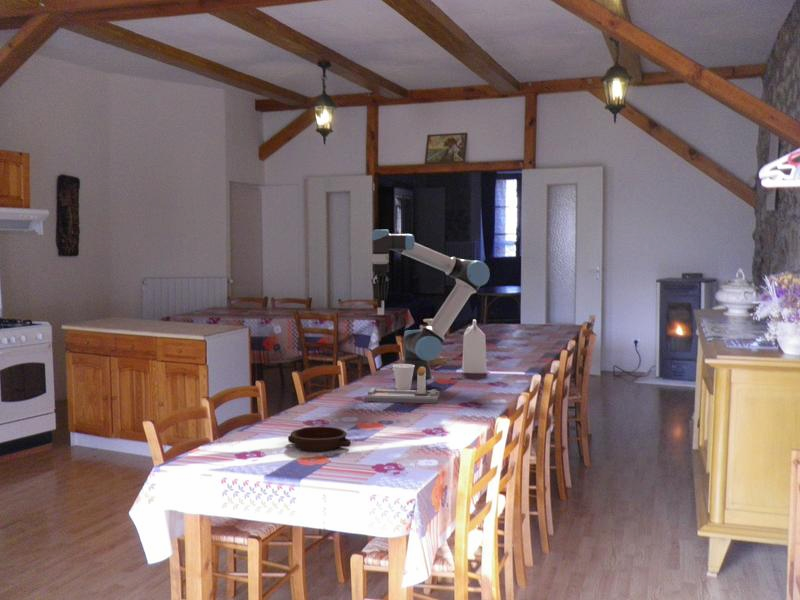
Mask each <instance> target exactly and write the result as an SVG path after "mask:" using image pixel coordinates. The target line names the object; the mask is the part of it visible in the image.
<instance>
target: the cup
mask: <svg viewBox="0 0 800 600" xmlns="http://www.w3.org/2000/svg"><path fill="white" fill-rule="evenodd" d="M414 367H415V365H412V364H403V363H396V364H393V365H392V368H393V375H394V380H395V386H396V390H411V389H412V381H413V379H412V377H413V371H414Z"/></svg>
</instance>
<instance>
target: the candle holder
mask: <svg viewBox="0 0 800 600" xmlns="http://www.w3.org/2000/svg"><path fill="white" fill-rule="evenodd" d="M433 319H434V318H424V319H422V320H423V322H424V323H427V326H429V325H430V323H431V322H432V320H433ZM428 363H429V366H431V367H433V366H435V367H436V366H440V365H441V366H442V365H445V364H447V360H446V359H445V357H443V356H441V355H439V356H438V357H437V358H435V359H433V360H429V361H428Z"/></svg>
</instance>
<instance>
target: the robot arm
mask: <svg viewBox="0 0 800 600" xmlns="http://www.w3.org/2000/svg"><path fill="white" fill-rule="evenodd" d="M371 240H372V242H371V243H372V258H371V259H372V261H371V262H372V263H373V264H372V272H374V275H373V277H374V278H371V284H372V290H373V298H374V300H375V301H376V303H377V305H376V306H377V307H376V308H377V313H376V314H377V315H378V316H383V315H385V301H387V299H388V291H389V283H390V280H391V278H390V277H388V275H387V273H389V271H390V269H389V268H390V264H389V263H390V255H389V254H390V251H394V252H396V253H399V254H401V255H404V256H406V257H409V258H411V259H413V260H416V261H419V262H420V263H423V264H425V265H428V266H430V267H432V268H435V269H436V270H437V269H438V270H439V271H442V272H444V273H445V275H446V276H448V277H450V278H453V279H455V285H454V287H453V288H452V289H451V292H450V293H449V294H448V296H447V297H446V299H445V301H444V302H443V303H442V305H441V306H440V308H439V310H438V311H437V313H436V314H435V316H434V317H433V318H432V319H433V320H432V322H431V323H430V325H426V326H423V328H422V329H412V330H411V329H409V330H408V329H407V330H405V331H404V335H403V346H404V347H403V350H404V351H403V352H404V353H403V355H404V357H403V359H404V360H403V363H402V364H412V365H415V367H414V371H413V377H412V380H417V370H418V369H419V367H422V366H423V367H425V369H426V379H429V378H432V370H431V367H430V366H431V365H429V363H428V361H429V360H433V359H435V358H437V357H438V356H441V352H442V348H443V347H442V345H443V344H444V342H445V340H446V339H445V335H446V333H447V331H449V329H450V327H451V326H452V325H453V322H454V321H455V320H456V318H457V317H458V315H459V313H460V312H461V310H463V308H464V306H465V304H466V303H467V301H468V300H469V298H470V297H471V296H472V295H473V294H475V293H477V292H478V291H479V289H480V287H481V286H484V285H486V284H487V283H488V281H489V280H490V276H491V275H490V269H489V266H488V265H487V263H485V262H483V261H481V260H477V259H475V260H473V259H463V258H458V257H456V256H451V257H450V256H449V255H446V254H443V253H441V252H438V251H436V250H433V249H432V248H429V247H426V246H424V245H422V244H420V243H417V242H416V241H415V235H413V234H411V233H390V231H389V229H374V230H373V231H372V239H371Z"/></svg>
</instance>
